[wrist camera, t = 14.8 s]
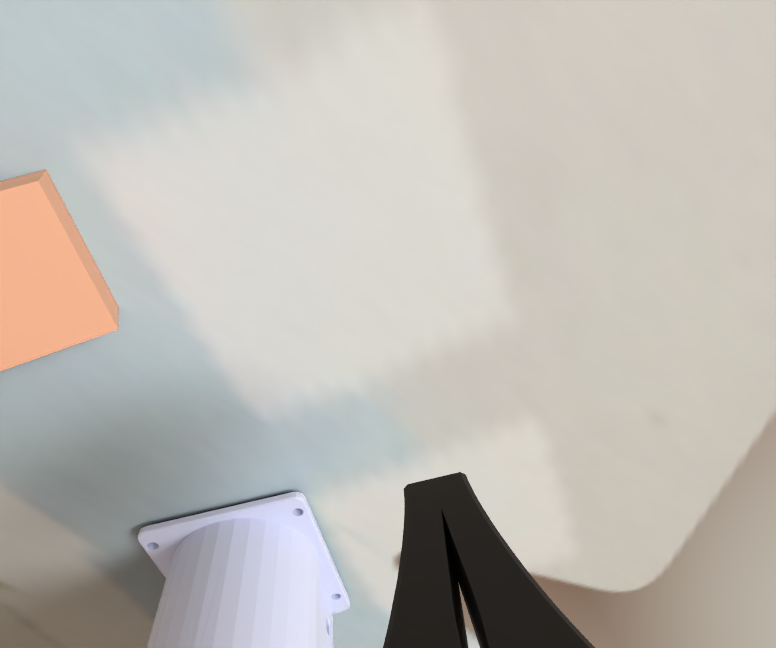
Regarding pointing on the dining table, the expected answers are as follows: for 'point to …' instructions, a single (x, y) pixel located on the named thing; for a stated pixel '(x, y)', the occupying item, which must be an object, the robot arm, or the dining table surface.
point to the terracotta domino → (46, 275)
